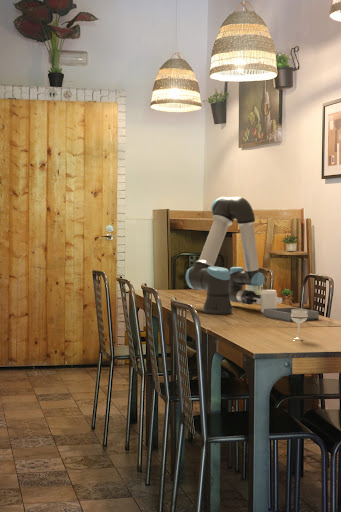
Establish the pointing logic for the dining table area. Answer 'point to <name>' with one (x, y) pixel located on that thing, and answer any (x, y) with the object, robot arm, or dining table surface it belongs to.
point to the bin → (288, 314)
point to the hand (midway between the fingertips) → (271, 301)
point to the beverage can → (268, 299)
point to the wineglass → (299, 317)
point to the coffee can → (255, 289)
